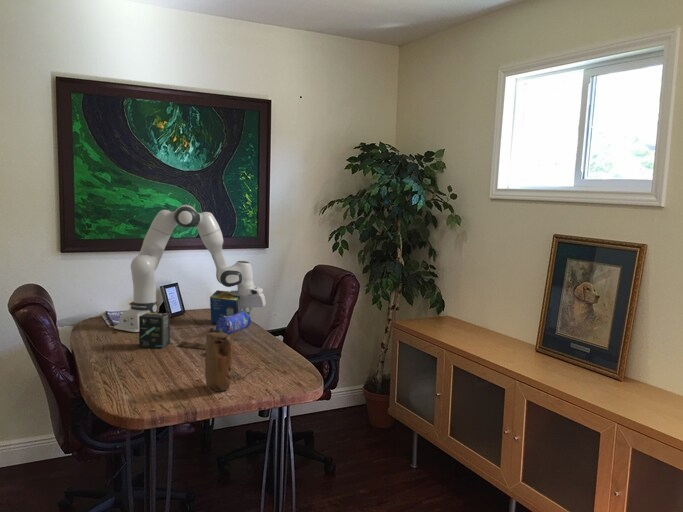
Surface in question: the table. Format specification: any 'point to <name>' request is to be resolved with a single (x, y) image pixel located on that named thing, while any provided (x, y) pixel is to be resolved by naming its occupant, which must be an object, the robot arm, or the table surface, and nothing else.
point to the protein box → (224, 305)
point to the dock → (191, 341)
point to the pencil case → (233, 322)
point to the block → (218, 361)
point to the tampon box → (154, 330)
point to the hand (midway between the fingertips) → (248, 315)
